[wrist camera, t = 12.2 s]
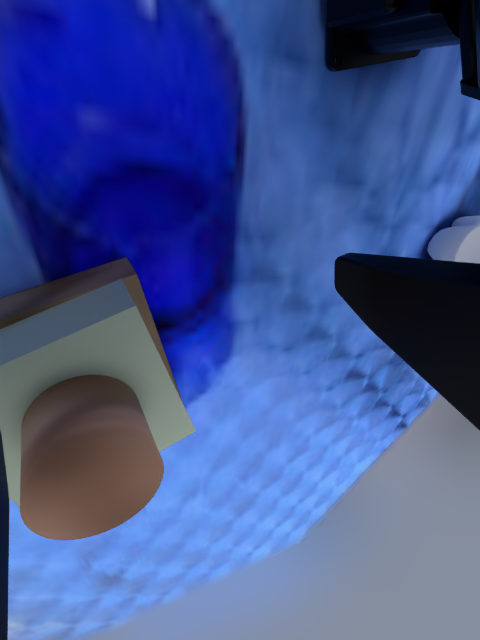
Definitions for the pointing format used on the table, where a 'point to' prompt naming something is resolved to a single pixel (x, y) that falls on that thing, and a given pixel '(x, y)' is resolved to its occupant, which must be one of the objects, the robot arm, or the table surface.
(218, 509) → the table surface
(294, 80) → the table surface
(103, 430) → the puck
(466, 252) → the water bottle
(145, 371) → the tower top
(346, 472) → the table surface
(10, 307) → the tower base
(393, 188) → the table surface
